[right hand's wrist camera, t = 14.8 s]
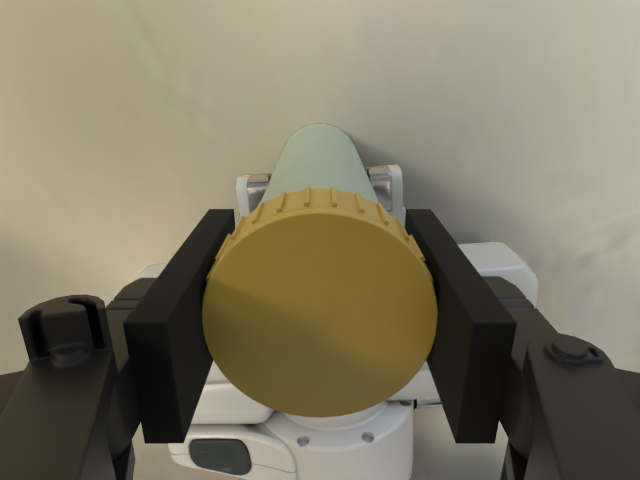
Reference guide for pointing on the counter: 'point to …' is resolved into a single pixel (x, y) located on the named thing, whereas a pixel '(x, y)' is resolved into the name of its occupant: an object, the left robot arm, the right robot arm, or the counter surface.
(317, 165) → the jar
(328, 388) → the lid
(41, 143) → the counter surface
